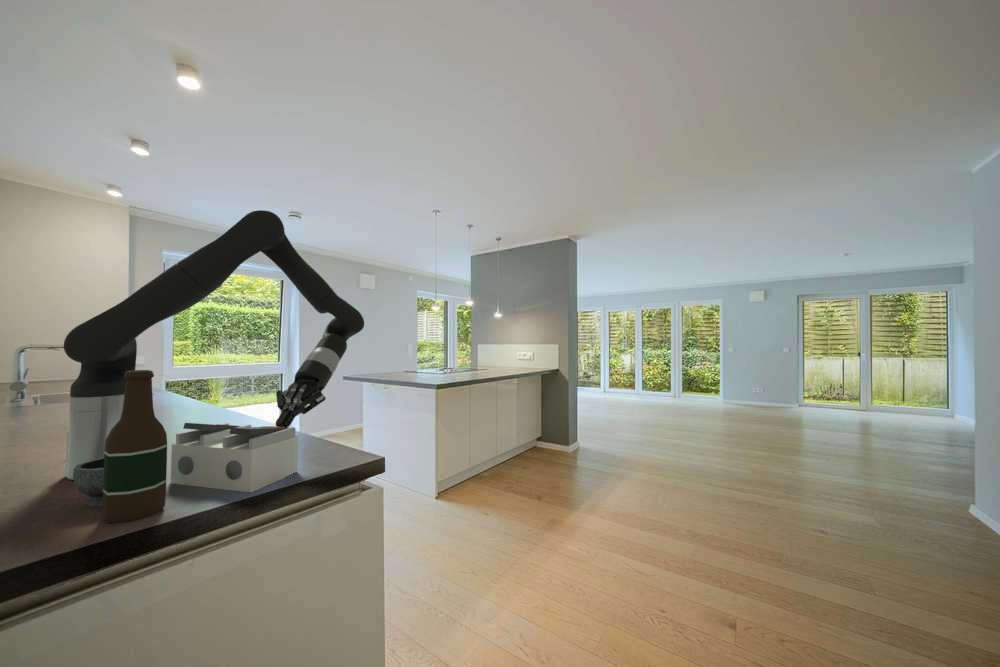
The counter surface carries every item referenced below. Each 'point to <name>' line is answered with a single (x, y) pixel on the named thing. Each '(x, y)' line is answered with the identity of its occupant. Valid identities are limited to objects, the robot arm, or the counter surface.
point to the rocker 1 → (208, 426)
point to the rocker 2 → (256, 430)
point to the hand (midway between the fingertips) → (280, 427)
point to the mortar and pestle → (90, 480)
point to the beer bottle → (135, 456)
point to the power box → (233, 459)
